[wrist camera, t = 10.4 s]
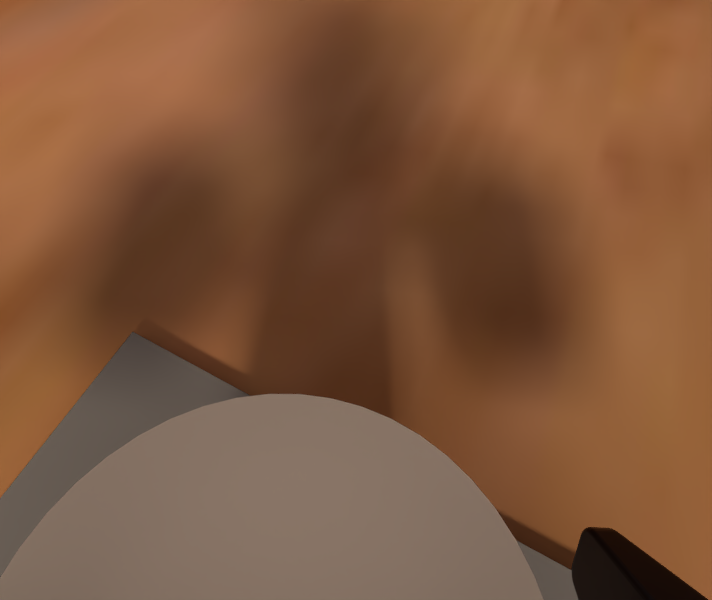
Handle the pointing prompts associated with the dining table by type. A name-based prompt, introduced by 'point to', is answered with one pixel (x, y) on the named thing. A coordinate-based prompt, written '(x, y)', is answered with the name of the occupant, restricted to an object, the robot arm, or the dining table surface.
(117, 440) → the mat
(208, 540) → the canister
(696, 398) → the dining table surface
